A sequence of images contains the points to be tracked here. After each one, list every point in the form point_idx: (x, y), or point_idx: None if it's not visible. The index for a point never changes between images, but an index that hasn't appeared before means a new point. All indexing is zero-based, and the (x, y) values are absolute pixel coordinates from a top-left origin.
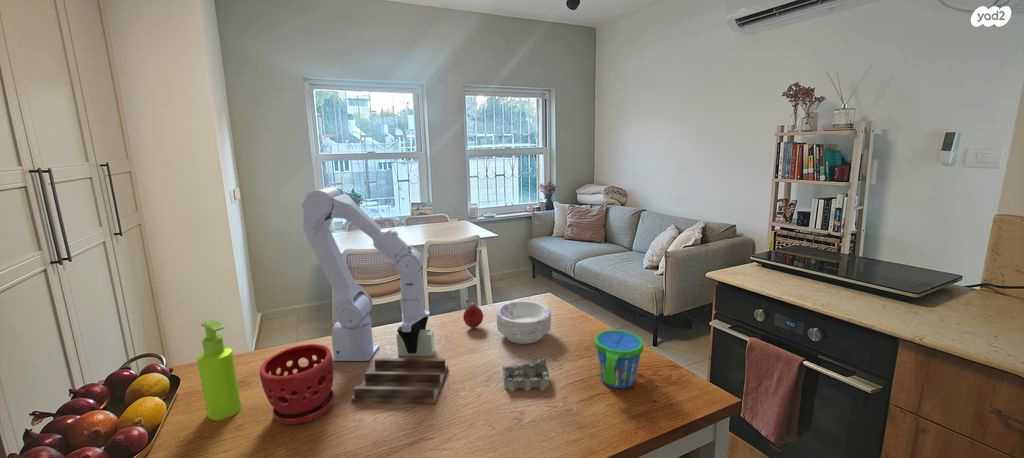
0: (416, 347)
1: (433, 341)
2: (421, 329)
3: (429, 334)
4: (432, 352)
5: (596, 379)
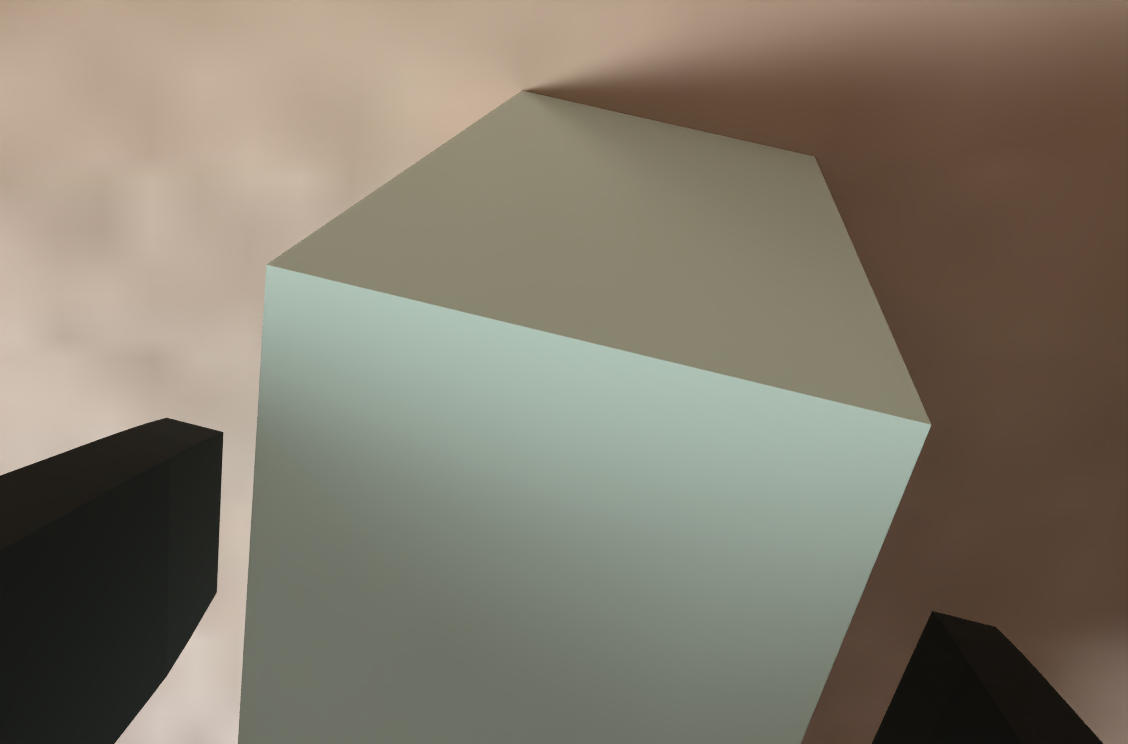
0: (1094, 742)
1: (556, 171)
2: (13, 651)
3: (858, 494)
4: (773, 160)
5: None
